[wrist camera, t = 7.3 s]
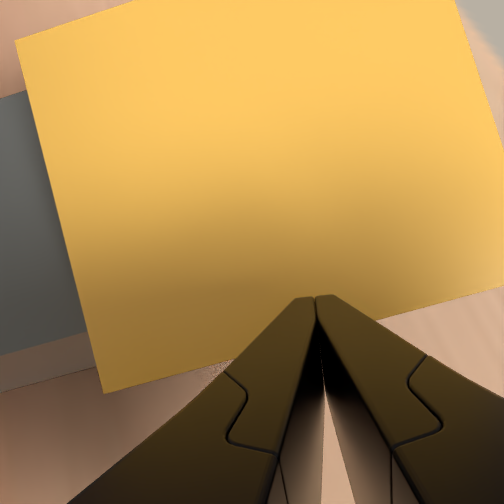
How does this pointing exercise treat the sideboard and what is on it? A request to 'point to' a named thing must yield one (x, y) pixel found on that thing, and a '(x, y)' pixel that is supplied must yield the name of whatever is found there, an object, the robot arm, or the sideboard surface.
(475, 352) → the sideboard surface
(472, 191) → the yellow flat slab
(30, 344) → the dark grey block
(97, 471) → the sideboard surface
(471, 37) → the sideboard surface
